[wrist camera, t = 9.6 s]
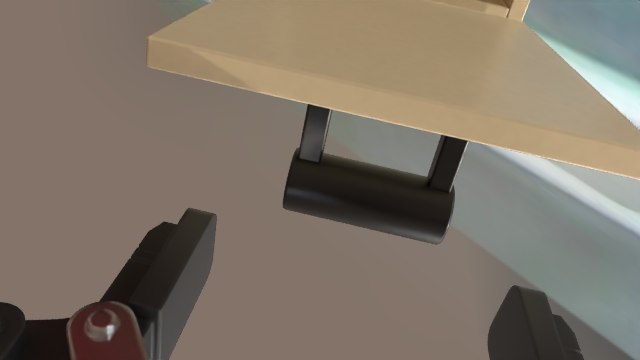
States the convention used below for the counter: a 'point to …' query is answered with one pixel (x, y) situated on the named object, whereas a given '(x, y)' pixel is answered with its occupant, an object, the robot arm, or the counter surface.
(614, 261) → the counter surface
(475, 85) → the chest lid
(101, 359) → the robot arm
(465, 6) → the wooden keepsake chest
